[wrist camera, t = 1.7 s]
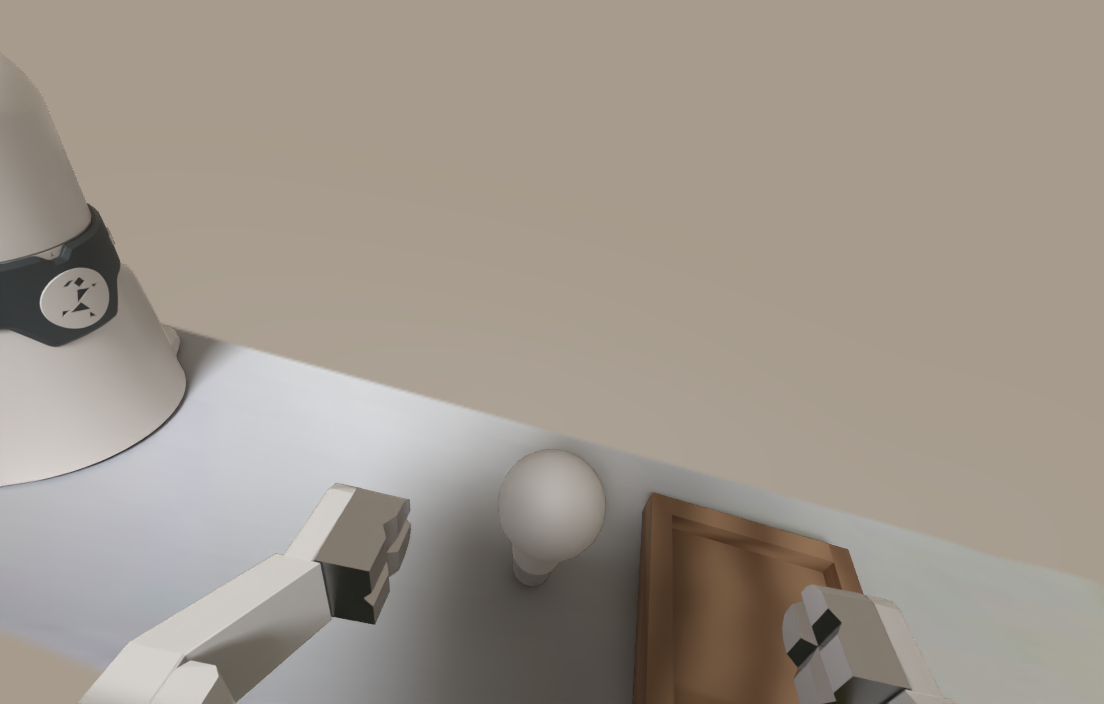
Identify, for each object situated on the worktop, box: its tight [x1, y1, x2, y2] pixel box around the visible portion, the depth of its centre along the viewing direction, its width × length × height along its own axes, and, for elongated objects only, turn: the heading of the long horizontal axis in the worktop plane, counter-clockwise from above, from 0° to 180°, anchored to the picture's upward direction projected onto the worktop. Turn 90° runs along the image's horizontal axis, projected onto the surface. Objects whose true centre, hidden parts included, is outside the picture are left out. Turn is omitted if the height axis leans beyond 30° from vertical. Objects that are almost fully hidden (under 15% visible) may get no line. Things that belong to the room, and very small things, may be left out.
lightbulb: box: [498, 449, 606, 586], centre depth 28 cm, size 6×6×11 cm
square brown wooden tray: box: [633, 493, 863, 704], centre depth 30 cm, size 15×15×2 cm
